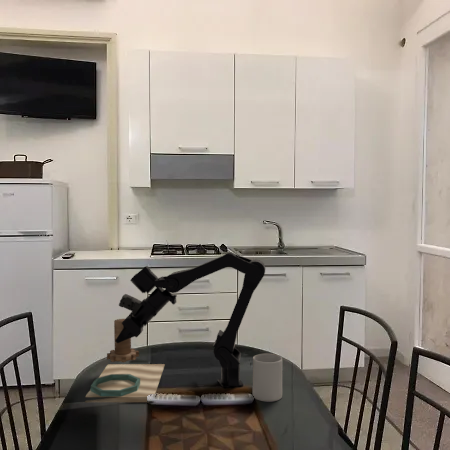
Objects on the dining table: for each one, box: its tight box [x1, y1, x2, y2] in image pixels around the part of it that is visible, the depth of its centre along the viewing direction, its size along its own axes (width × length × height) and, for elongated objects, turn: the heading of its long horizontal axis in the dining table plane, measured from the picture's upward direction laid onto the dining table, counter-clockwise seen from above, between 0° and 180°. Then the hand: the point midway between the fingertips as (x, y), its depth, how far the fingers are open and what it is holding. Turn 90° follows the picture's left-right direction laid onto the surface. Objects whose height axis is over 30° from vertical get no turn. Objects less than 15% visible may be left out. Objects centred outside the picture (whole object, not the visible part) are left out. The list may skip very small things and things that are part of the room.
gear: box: [106, 318, 140, 363], centre depth 145 cm, size 10×10×12 cm
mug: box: [251, 353, 283, 403], centre depth 135 cm, size 12×8×11 cm
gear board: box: [84, 363, 166, 403], centre depth 142 cm, size 27×19×3 cm
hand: (118, 339), depth 145 cm, fingers closed on gear, 5 cm apart
